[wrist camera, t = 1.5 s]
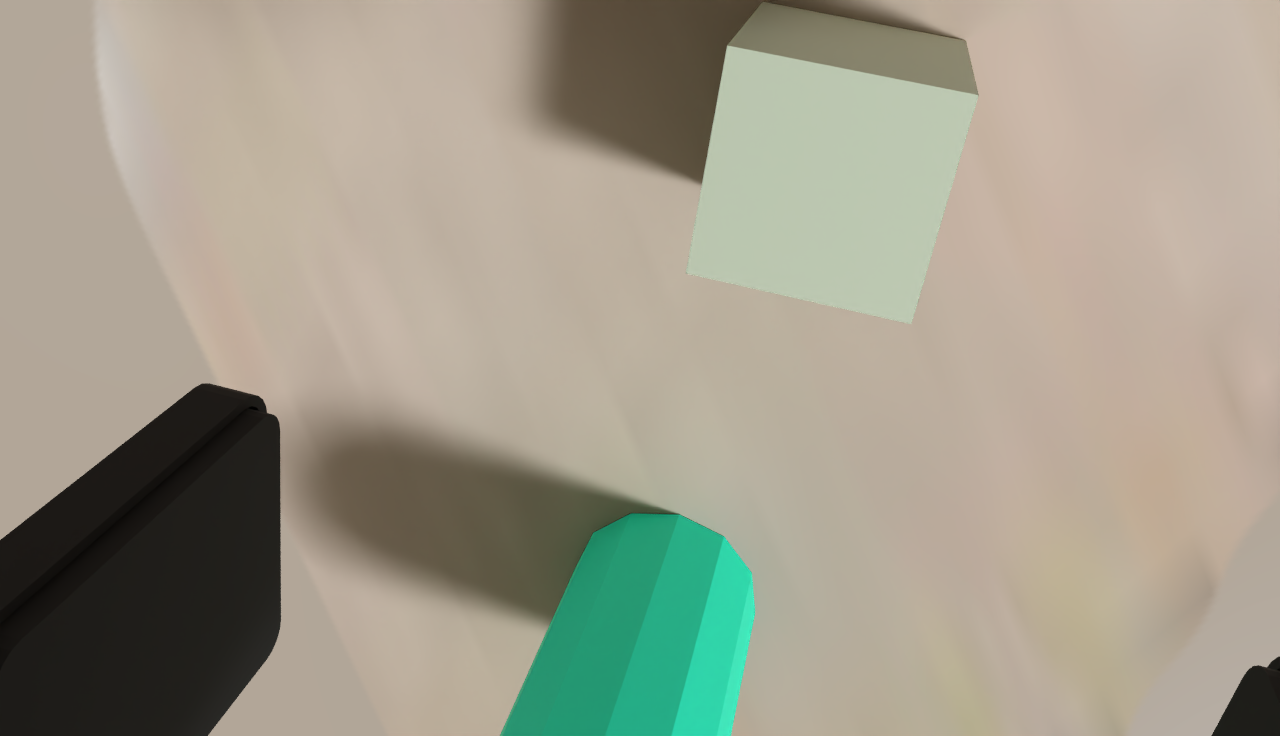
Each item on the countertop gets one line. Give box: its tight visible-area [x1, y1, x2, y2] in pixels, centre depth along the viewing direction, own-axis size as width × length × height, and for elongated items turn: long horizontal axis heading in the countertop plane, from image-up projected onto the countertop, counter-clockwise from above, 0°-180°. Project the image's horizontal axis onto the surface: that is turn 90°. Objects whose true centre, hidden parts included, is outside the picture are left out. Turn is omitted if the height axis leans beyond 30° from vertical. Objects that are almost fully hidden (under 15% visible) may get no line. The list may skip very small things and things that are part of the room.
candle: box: [500, 513, 755, 736], centre depth 31 cm, size 6×6×12 cm
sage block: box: [686, 2, 978, 324], centre depth 26 cm, size 5×5×6 cm
